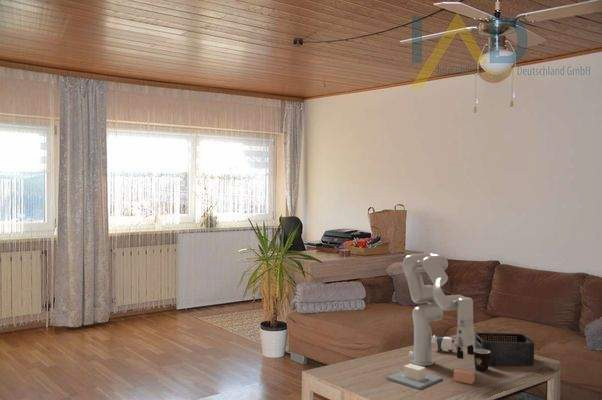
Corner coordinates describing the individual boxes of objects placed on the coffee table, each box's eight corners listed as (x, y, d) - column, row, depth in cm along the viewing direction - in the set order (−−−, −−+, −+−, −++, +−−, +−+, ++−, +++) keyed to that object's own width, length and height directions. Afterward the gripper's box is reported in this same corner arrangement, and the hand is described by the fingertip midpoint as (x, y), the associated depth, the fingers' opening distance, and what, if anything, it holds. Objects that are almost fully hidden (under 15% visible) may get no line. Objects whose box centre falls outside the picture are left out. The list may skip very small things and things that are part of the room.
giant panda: (454, 351, 338) (454, 335, 338) (453, 354, 333) (453, 337, 333) (429, 348, 344) (429, 332, 344) (427, 351, 339) (427, 334, 339)
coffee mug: (469, 368, 308) (469, 349, 308) (482, 366, 311) (483, 348, 311) (484, 375, 297) (484, 356, 297) (497, 373, 301) (497, 354, 300)
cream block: (403, 375, 291) (403, 366, 291) (410, 373, 296) (410, 363, 296) (418, 380, 285) (418, 370, 285) (425, 377, 289) (425, 367, 289)
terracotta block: (453, 381, 289) (453, 371, 289) (456, 377, 294) (456, 368, 294) (471, 384, 284) (471, 374, 284) (474, 380, 289) (474, 370, 289)
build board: (386, 379, 291) (386, 376, 291) (409, 370, 305) (409, 367, 304) (419, 389, 276) (419, 386, 276) (442, 379, 290) (442, 377, 290)
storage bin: (523, 355, 331) (523, 332, 331) (536, 366, 312) (536, 342, 312) (473, 355, 332) (473, 332, 332) (483, 366, 313) (483, 341, 312)
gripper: (462, 326, 279) (462, 361, 279) (480, 320, 291) (481, 354, 291) (449, 323, 285) (449, 358, 285) (467, 318, 297) (467, 351, 297)
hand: (465, 356), depth 288 cm, fingers open, 9 cm apart
